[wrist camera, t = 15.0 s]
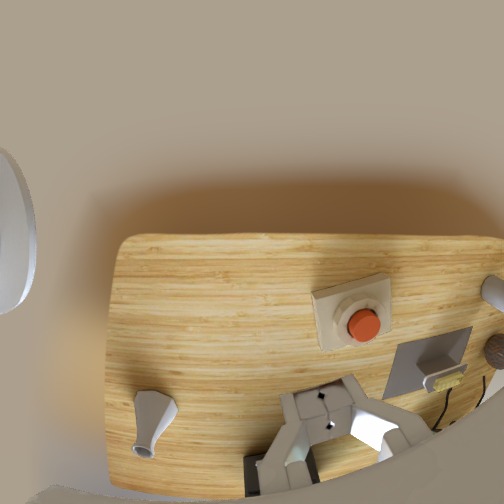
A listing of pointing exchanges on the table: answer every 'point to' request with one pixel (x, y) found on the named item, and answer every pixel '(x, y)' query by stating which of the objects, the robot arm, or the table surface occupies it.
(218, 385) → the table surface
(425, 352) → the platform
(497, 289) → the beverage can
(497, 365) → the vase
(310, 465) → the cabinet drawer
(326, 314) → the block
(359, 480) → the robot arm
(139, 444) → the flask
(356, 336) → the button
